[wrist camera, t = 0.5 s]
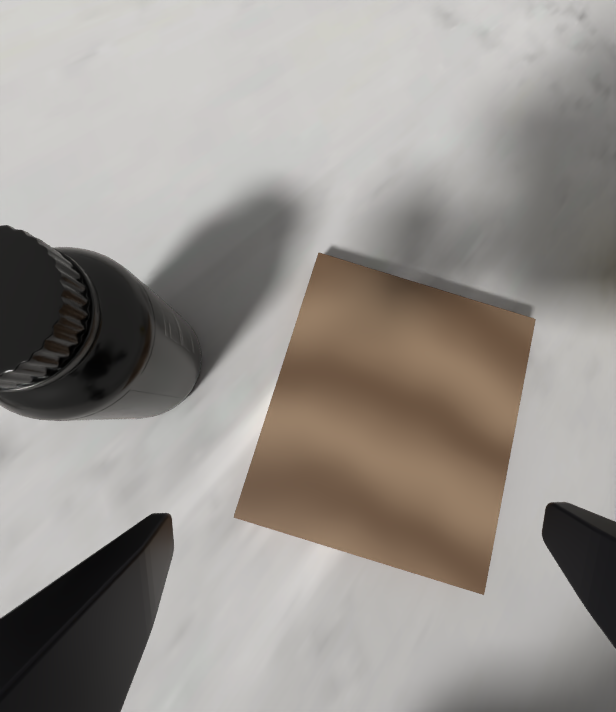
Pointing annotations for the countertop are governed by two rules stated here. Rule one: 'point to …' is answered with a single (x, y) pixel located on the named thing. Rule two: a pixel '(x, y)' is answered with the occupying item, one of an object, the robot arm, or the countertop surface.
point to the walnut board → (392, 424)
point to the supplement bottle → (86, 337)
